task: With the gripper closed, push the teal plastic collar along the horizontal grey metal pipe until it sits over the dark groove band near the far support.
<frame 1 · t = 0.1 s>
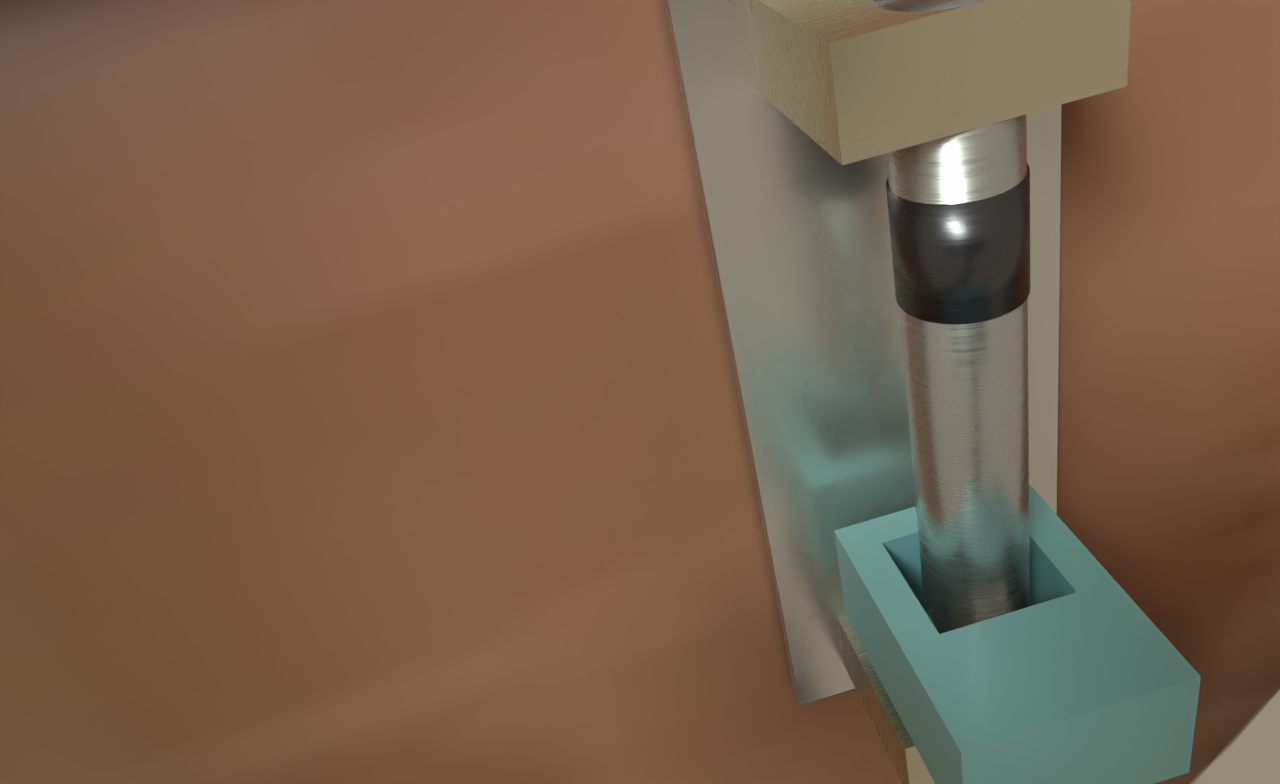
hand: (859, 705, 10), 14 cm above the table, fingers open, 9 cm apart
pipe rig: (893, 358, 25), on the table
collar: (996, 641, 24), point 5 cm above the table, slide at 0.0 cm
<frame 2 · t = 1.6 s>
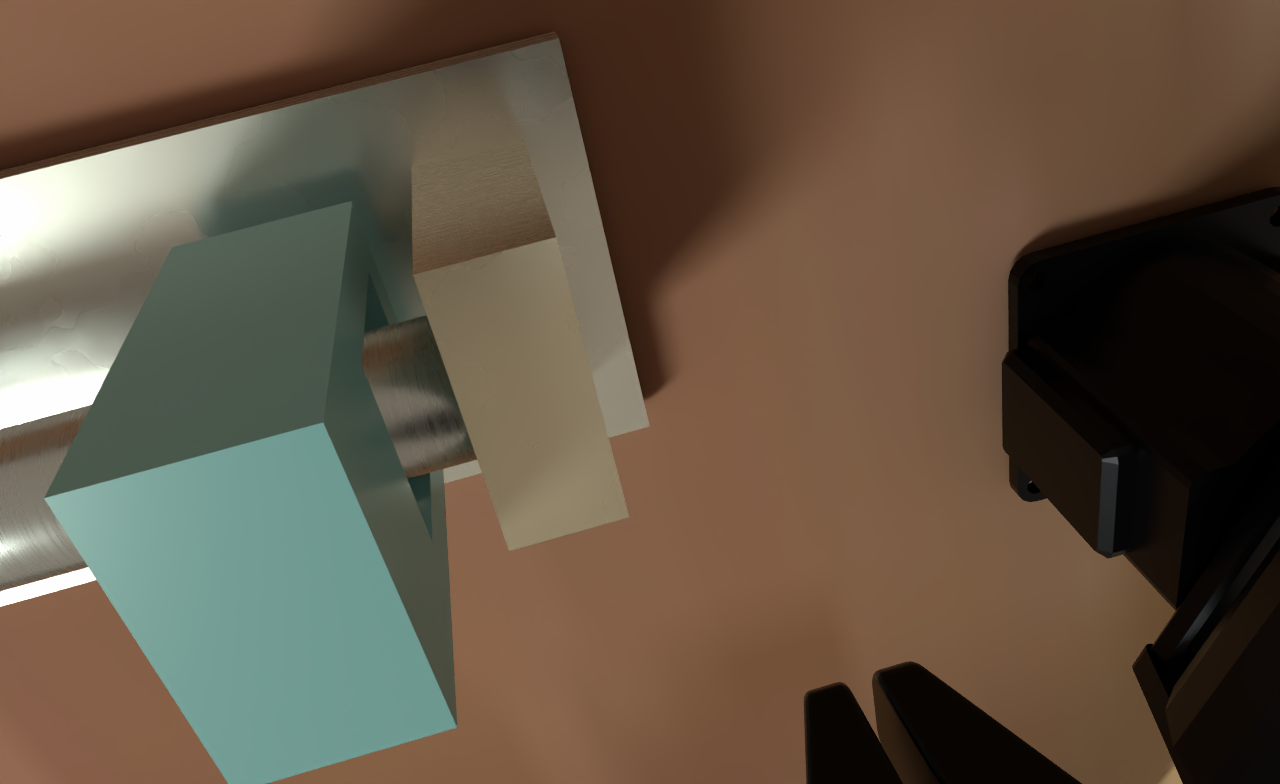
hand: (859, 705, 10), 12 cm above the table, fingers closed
pipe rig: (59, 386, 19), on the table
collar: (300, 463, 15), point 5 cm above the table, slide at 0.0 cm
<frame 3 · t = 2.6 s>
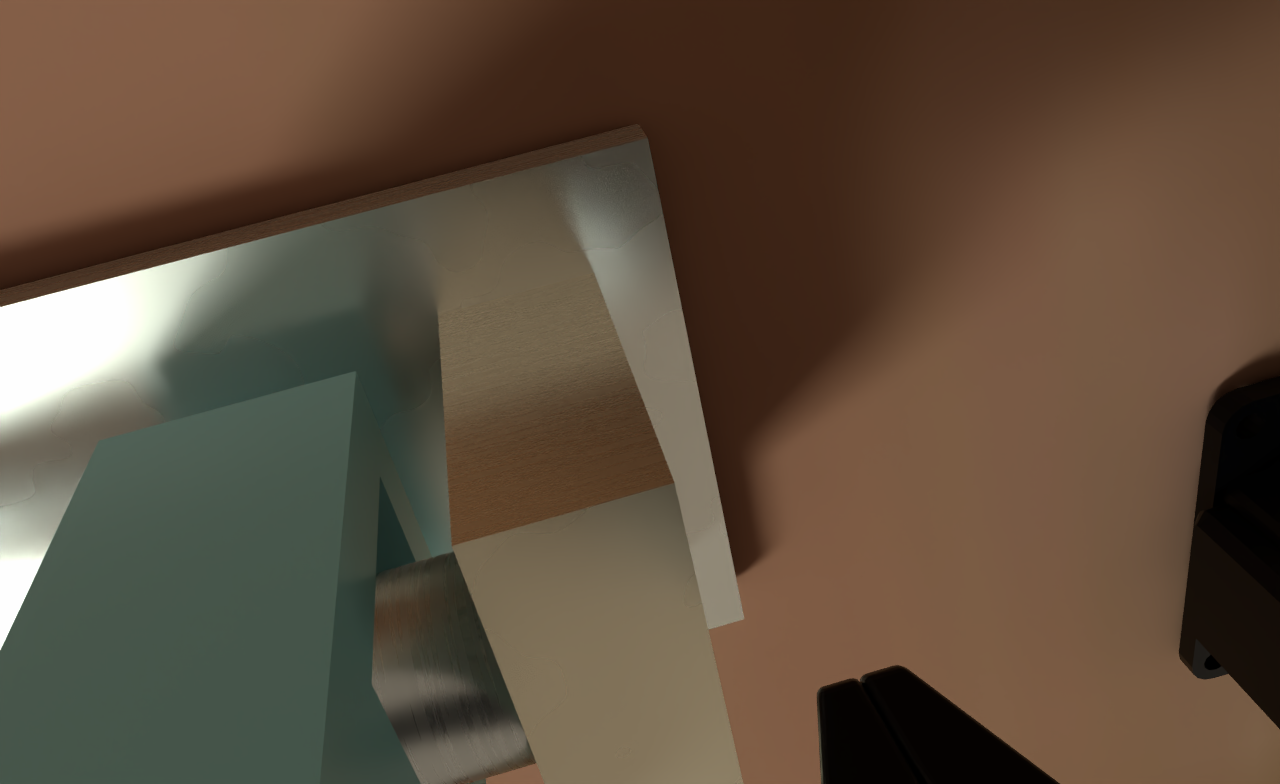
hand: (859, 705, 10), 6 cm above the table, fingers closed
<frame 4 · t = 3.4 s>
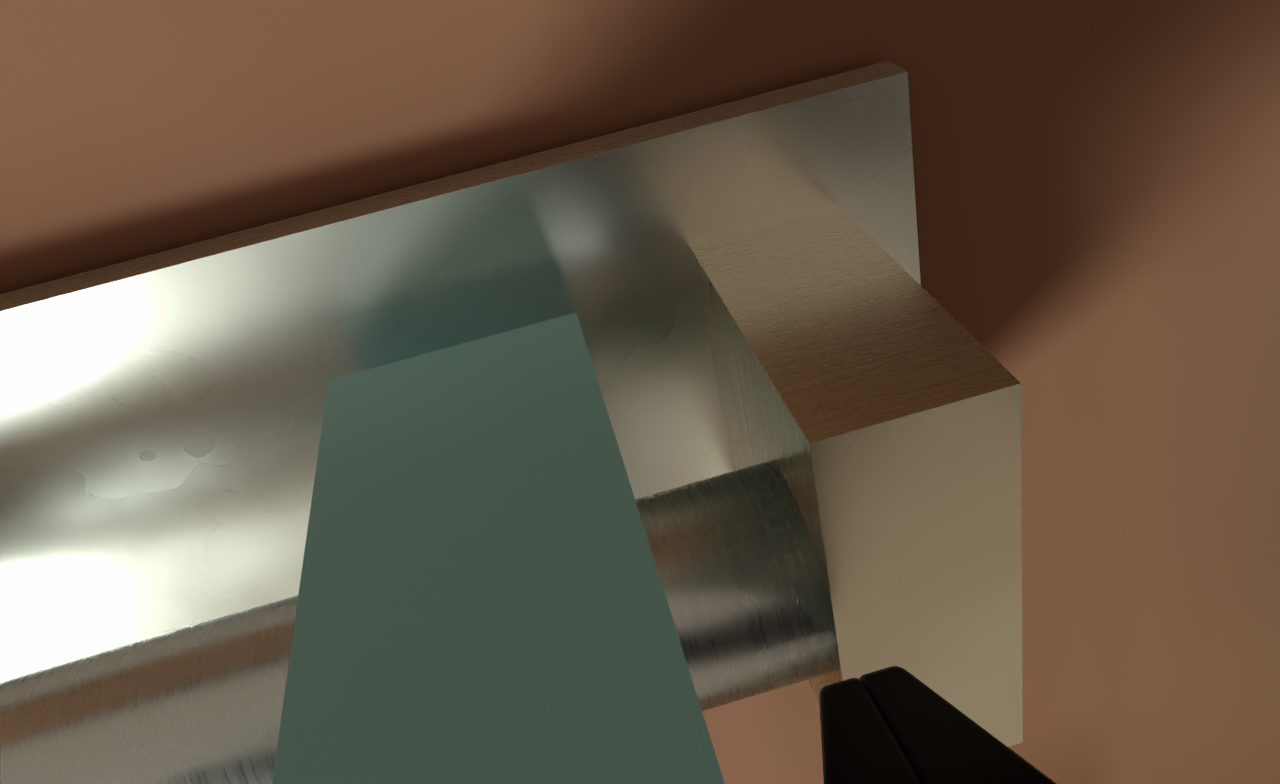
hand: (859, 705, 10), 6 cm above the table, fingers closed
pipe rig: (199, 530, 14), on the table
collar: (537, 712, 10), point 5 cm above the table, slide at 0.6 cm, touching gripper
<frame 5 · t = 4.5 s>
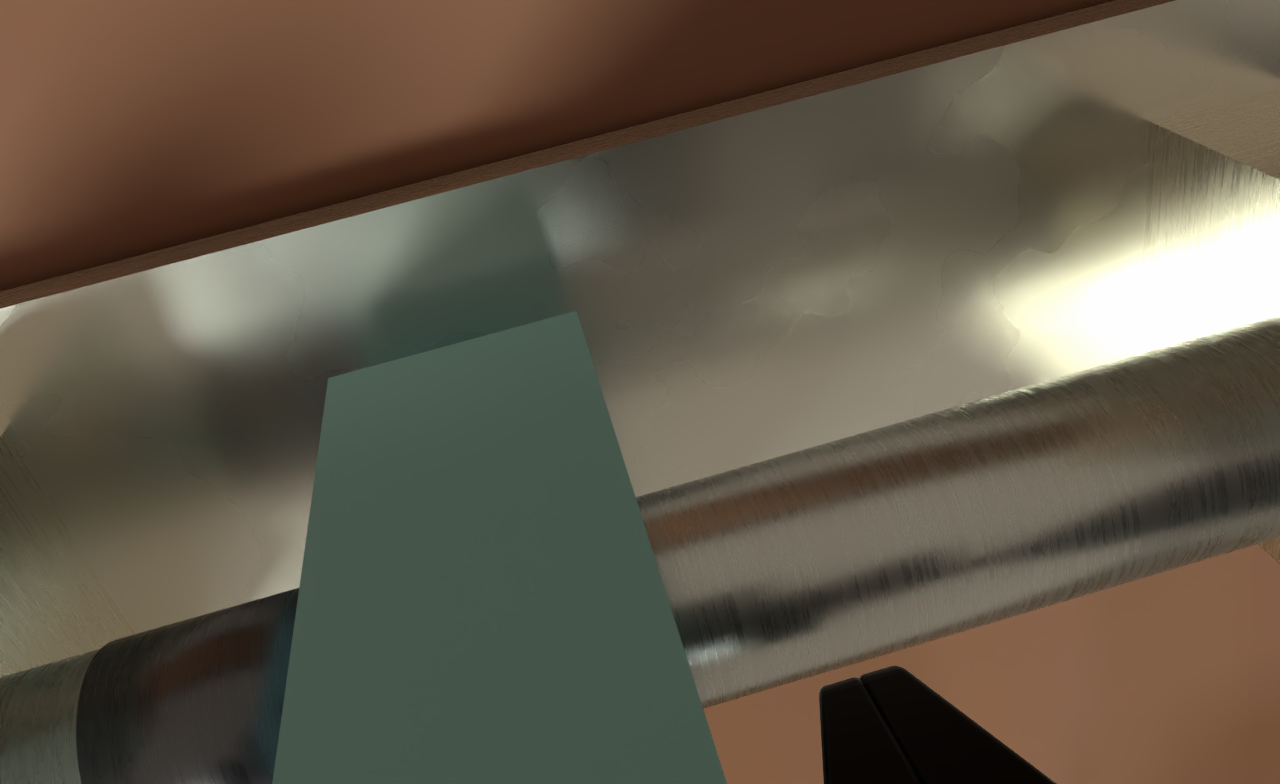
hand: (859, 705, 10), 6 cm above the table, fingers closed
pipe rig: (628, 409, 15), on the table
collar: (537, 710, 10), point 5 cm above the table, slide at 6.9 cm, touching gripper
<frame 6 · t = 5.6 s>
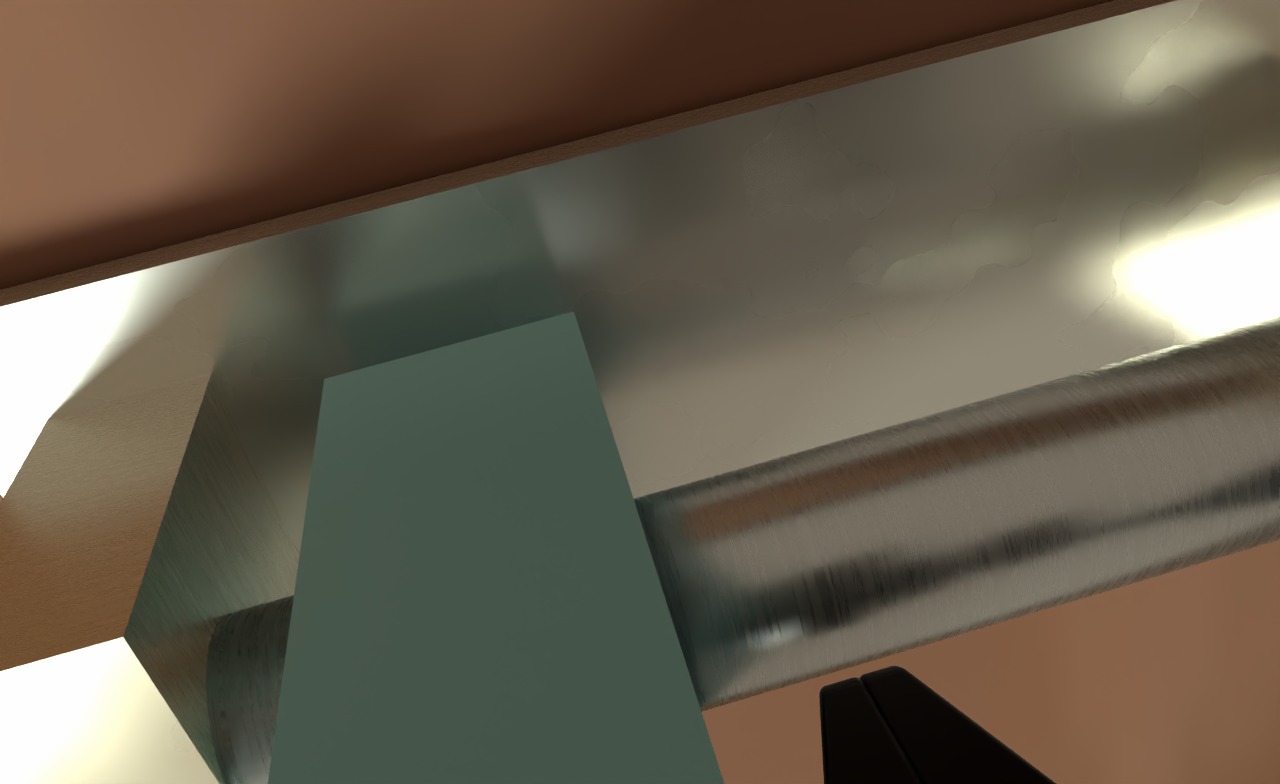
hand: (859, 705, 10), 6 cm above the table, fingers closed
pipe rig: (800, 362, 15), on the table
collar: (534, 713, 10), point 5 cm above the table, slide at 9.5 cm, touching gripper
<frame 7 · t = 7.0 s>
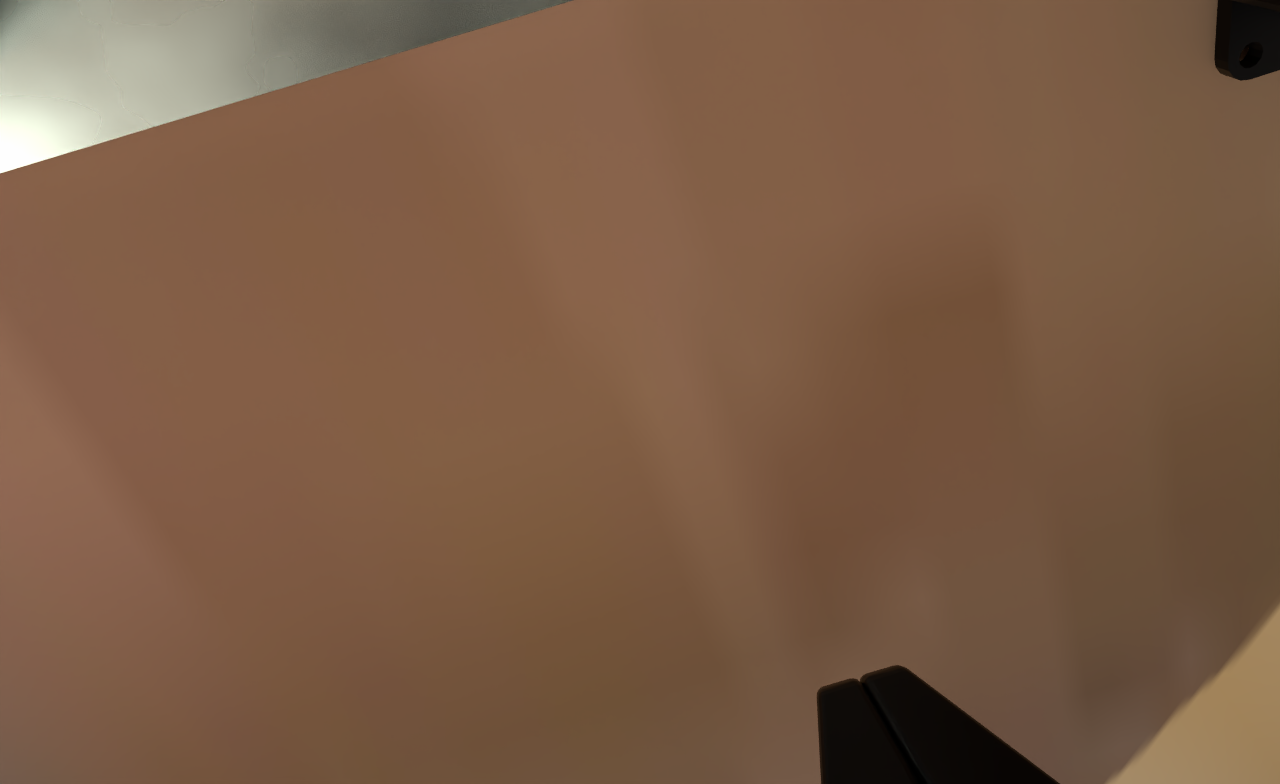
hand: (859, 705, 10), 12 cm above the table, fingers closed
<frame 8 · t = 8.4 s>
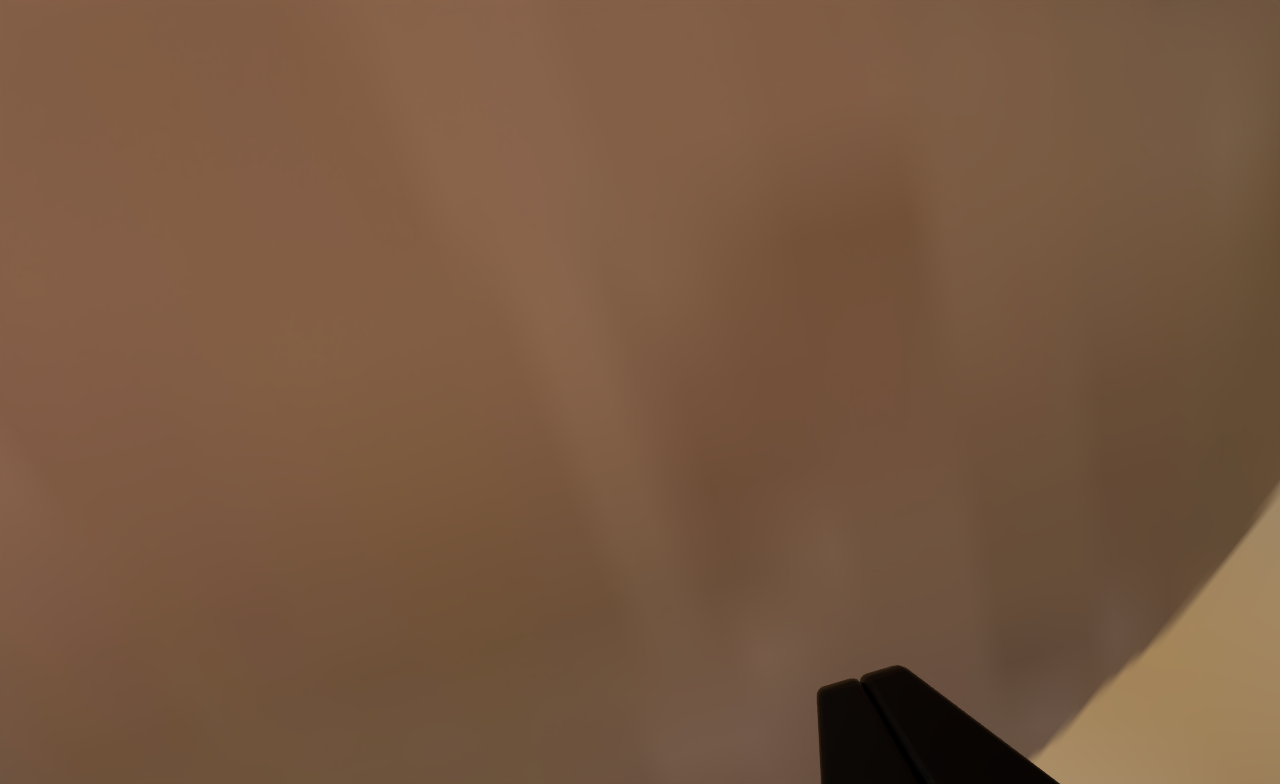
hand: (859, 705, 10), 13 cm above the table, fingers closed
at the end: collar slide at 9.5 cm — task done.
